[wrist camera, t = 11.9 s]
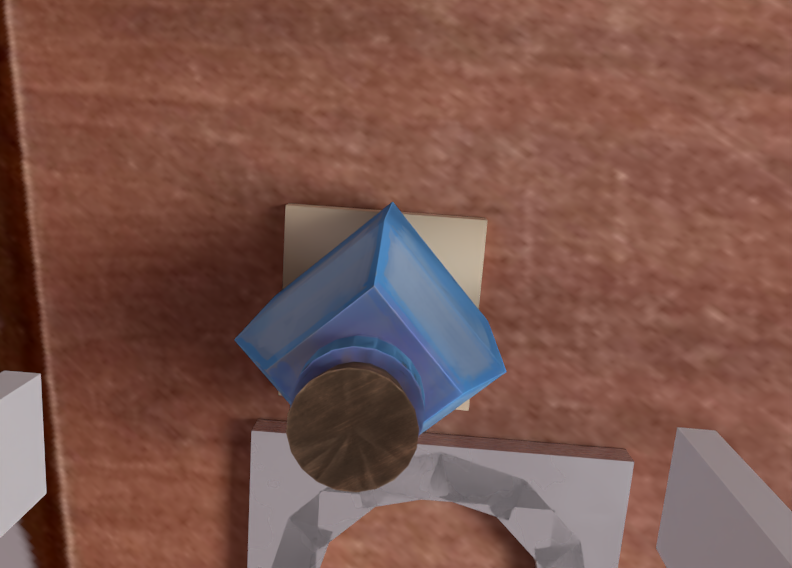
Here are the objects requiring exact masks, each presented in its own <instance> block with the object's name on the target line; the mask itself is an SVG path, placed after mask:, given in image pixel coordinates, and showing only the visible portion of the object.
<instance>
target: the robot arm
mask: <svg viewBox="0 0 792 568" xmlns="http://www.w3.org/2000/svg"><path fill="white" fill-rule="evenodd" d="M45 494H46V474H45V453H44V432H43V412H42V391H41V374H39V373H27V372H15V371H3V372H1V373H0V538H1V537H2V536H3V535H4V534H5V533H6V532H7V531H8V530H9V529H10V528H11V527H12V526H13V525H14V524H15V523H16V522H17V521H18V520H19V519H20V518H22V517H23V516H24V515H25V514H26V513H27V512H28V511H29V510H30V509H31V508H32V507H33V506H34V505H35V504H36V503H37V502H38V501H39V500H40V499H41V498H42V497H43V496H44V495H45ZM656 549H657V551H658V552H659V554H660V556H661V558H662V560H663V562H664V563H665V565H666V567H667V568H792V511H791V510H790V509H789V508H788V507H787V506H786V505H785V504H784V503H783V502H782V501H781V500H780V498H779V497H778V496H777V495H776V494H775V493H774V492H773V491H772V490H771V489H770V488H769V487H768V486H767V485H766V484H765V483H764V481H763V480H762V479H761V478H760V477H759V476H758V475H757V474H756V473H755V472H754V471H753V470H752V469H751V468H750V467H749V466H748V465H747V463H746V462H745V461H744V460H743V459H742V458H741V457H740V456H739V455H738V454H737V453H736V452H735V451H734V450H733V449H732V448H731V446H730V445H729V444H728V443H727V442H726V441H725V440H724V439H723V438H722V437H721V436H720V435H719V434H718V433H717V432H716V431H714V430H702V429H690V428H678V427H677V432H676V438H675V444H674V449H673V455H672V461H671V466H670V472H669V478H668V483H667V489H666V495H665V500H664V506H663V512H662V517H661V523H660V529H659V534H658V540H657V546H656Z"/></svg>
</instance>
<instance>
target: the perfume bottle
mask: <svg viewBox="0 0 792 568" xmlns="http://www.w3.org/2000/svg"><path fill="white" fill-rule="evenodd" d="M234 340H235V341H236V343H237V344H238V345H239V346H240V347H241V348H242V350H243V351H244V352H245V353H246V354H247V355H248V356H249V358H250V359H251V360H252V361H253V362H254V363H255V365H256V366H257V367H258V368H259V369H260V370H261V371H262V373H263V374H264V375H265V376H266V377H267V378H268V380H269V381H270V382H271V383H272V384H273V385H274V386H275V388H276V389H277V390H278V391H279V392H280V393H281V394H282V396H283V397H284V398H285V399H286V400H287V401H288V403H289V404H290V410H289V412H288V417H287V429H286V435H287V439H288V442H289V446H290V450H291V453H292V455H293V456H294V458H295V459H296V461H297V462H298V464H299V466H300V467H301V469H302V470H304V471H305V472H306V473H307V474H308V475H309V476H311V477H312V478H313V479H314V480H315V481H317V482H318V483H321V484H323V485H325V486H328V487H330V488H332V489H335V490H340V491H348V492H362V491H368V490H373V489H377V488H379V487H381V486H383V485H385V484H387V483H389V482H391V481H393V480H395V479H396V478H397V477H398V476H399V475H400V474H401V473H402V472H403V471H404V470H405V469H406V468H407V467H408V465H409V463H410V461H411V459H412V457H413V455H414V453H415V451H416V449H417V443H418V437H419V435H420V434H422V433H423V432H424V431H426V430H427V429H429V428H430V427H431V426H433V425H434V424H435V423H437V422H438V421H440V420H441V419H442V418H444V417H445V416H446V415H448V414H449V413H450V412H452V411H453V410H455V409H456V408H457V407H459V406H460V405H461V404H463V403H464V402H466V401H467V400H468V399H470V398H471V397H472V396H474V395H475V394H477V393H478V392H479V391H481V390H482V389H483V388H485V387H486V386H488V385H489V384H490V383H492V382H493V381H494V380H496V379H497V378H499V377H500V376H501V375H503V374H504V373H505V372H507V371H506V369H505V366H504V363H503V361H502V358H501V355H500V352H499V350H498V347H497V344H496V342H495V339H494V336H493V333H492V331H491V328H490V325H489V323H488V321H487V319H486V318H485V317H484V316H483V314H482V313H481V312H480V311H479V309H478V308H477V307H476V306H475V304H474V303H473V302H472V301H471V299H470V298H469V297H468V296H467V294H466V293H465V292H464V290H463V289H462V288H461V287H460V285H459V284H458V283H457V282H456V280H455V279H454V278H453V277H452V275H451V274H450V273H449V272H448V270H447V269H446V268H445V267H444V265H443V264H442V263H441V262H440V260H439V259H438V258H437V257H436V255H435V254H434V253H433V252H432V250H431V249H430V248H429V247H428V245H427V244H426V243H425V242H424V240H423V239H422V238H421V237H420V235H419V234H418V233H417V231H416V230H415V229H414V228H413V226H412V225H411V224H410V223H409V221H408V220H407V219H406V218H405V216H404V215H403V214H402V213H401V211H400V210H399V209H398V208H397V206H396V205H395V204H394V203H393V202H391V203H390V204H389V205H388V206H386V207H385V208H384V209H383V210H381V211H380V212H379V213H378V214H376V215H375V216H374V217H373V218H372V219H370V220H369V221H368V222H367V223H365V224H364V225H363V226H362V227H360V228H359V229H358V230H357V231H355V232H354V233H353V234H352V235H350V236H349V237H348V238H347V239H345V240H344V241H343V242H342V243H340V244H339V245H338V246H337V247H335V248H334V249H333V250H332V251H330V252H329V253H328V254H327V255H325V256H324V257H323V258H322V259H320V260H319V261H318V262H317V263H315V264H314V265H313V266H312V267H310V268H309V269H308V270H307V271H305V272H304V273H303V274H302V275H300V276H299V277H298V278H297V279H295V280H294V281H293V282H292V283H290V284H289V285H288V286H287V287H285V288H284V289H283V290H282V291H280V292H279V293H278V294H277V295H275V296H274V297H273V298H272V299H271V300H270V302H269V303H268V304H267V305H266V306H265V307H264V308H263V309H262V310H261V311H260V312H259V313H258V314H257V316H256V317H255V318H254V319H253V320H252V321H251V322H250V323H249V324H248V325H247V326H246V327H245V329H244V330H243V331H242V332H241V333H240V334H239V335H238V336H237V337H236V338H235V339H234Z"/></svg>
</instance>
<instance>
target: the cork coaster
mask: <svg viewBox="0 0 792 568" xmlns="http://www.w3.org/2000/svg"><path fill="white" fill-rule="evenodd" d="M380 211H381V210H372V209H358V208H345V207H332V206H319V205H305V204H292V203H289V204H287V205H286V208H285V235H284V261H283V287H282V290H283V289H284V288H285V287H287V286H288V285H289V284H290V283H292V282H293V281H294V280H295V279H297V278H298V277H299V276H300V275H302V274H303V273H304V272H305V271H307V270H308V269H309V268H310V267H312V266H313V265H314V264H315V263H317V262H318V261H319V260H320V259H322V258H323V257H324V256H325V255H327V254H328V253H329V252H330V251H332V250H333V249H334V248H335V247H337V246H338V245H339V244H340V243H342V242H343V241H344V240H345V239H347V238H348V237H349V236H350V235H352V234H353V233H354V232H355V231H357V230H358V229H359V228H360V227H362V226H363V225H364V224H365V223H367V222H368V221H369V220H370V219H372V218H373V217H374V216H375V215H376V214H378V213H379V212H380ZM401 213H402V214H403V215H404V216H405V218H406V219H407V220H408V221H409V223H410V224H411V225H412V226H413V228H414V229H415V230H416V231H417V233H418V234H419V235H420V237H421V238H422V239H423V240H424V242H425V243H426V244H427V245H428V247H429V248H430V249H431V250H432V252H433V253H434V254H435V255H436V257H437V258H438V259H439V260H440V262H441V263H442V264H443V265H444V267H445V268H446V269H447V270H448V272H449V273H450V274H451V275H452V277H453V278H454V279H455V280H456V282H457V283H458V284H459V285H460V287H461V288H462V289H463V290H464V292H465V293H466V294H467V296H468V297H469V298H470V299H471V301H472V302H473V303H474V304H475V306H476V307H477V308H478V309H479V300H480V290H481V280H482V270H483V260H484V250H485V240H486V230H487V219H486V218H478V217H464V216H451V215H438V214H425V213H411V212H401ZM278 395H280V396H282V394H281V393H280V392H278ZM469 400H470V399H468V400H467V401H466V402H464V403H463V404H461V405H460V406H459V407H457V408H456V409H455V410H466V411H468V410H469Z"/></svg>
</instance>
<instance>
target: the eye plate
mask: <svg viewBox="0 0 792 568" xmlns="http://www.w3.org/2000/svg"><path fill="white" fill-rule="evenodd" d="M286 429H287V421H274V420H262V419H258V420H257V422H256V424H255V425H254V427H253V429H252V431H251V463H250V497H249V530H248V564H247V568H320V566H321V563H322V560H323V558H324V555H325V552H326V549H327V546H328V544H329V542H330V541H332V540H333V539H334V538H336V537H337V536H338V535H339V534H341V533H342V532H343V531H345V530H346V529H347V528H348V527H350V526H351V525H352V524H354V523H355V522H356V521H357V520H359V519H360V518H361V517H363V516H364V515H365V514H366V513H368V512H369V511H370V510H372V509H373V508H374V507H376V506H382V505H389V504H395V503H401V502H408V501H414V500H420V499H423V500H435V501H447V502H454V503H457V504H460V505H463V506H466V507H469V508H472V509H475V510H478V511H481V512H484V513H487V514H490V515H493V516H496V517H497V518H498V519H499V520H500V521H501V522H502V523H503V525H504V526H505V527H506V528H507V529H508V530H509V531H510V532H511V533H512V534H513V536H514V537H515V538H516V539H517V540H518V541H519V542H520V543H521V544H522V545H523V547H524V548H525V549H526V550H527V551H528V552H529V553H530V554H531V555H532V556H533V558H534V562H535V567H536V568H618V563H619V556H620V550H621V543H622V537H623V531H624V524H625V518H626V511H627V505H628V499H629V492H630V486H631V479H632V473H633V467H634V461H633V459H632V458H631V456H630V455H629V453H628V452H627V450H626V449H618V448H605V447H593V446H581V445H569V444H556V443H544V442H532V441H520V440H507V439H495V438H483V437H471V436H458V435H446V434H434V433H422V434H420V435H419V437H418V443H417V449H416V451H415V453H414V455H413V457H412V459H411V461H410V463H409V465H408V467H407V468H406V469H405V470H404V471H403V472H402V473H401V474H400V475H399V476H398V477H397V478H396V479H395V480H393V481H391V482H389V483H387V484H385V485H383V486H381V487H379V488H377V489H373V490H368V491H362V492H348V491H340V490H335V489H332V488H330V487H328V486H325V485H323V484H321V483H318V482H317V481H315V480H314V479H313V478H312V477H311V476H309V475H308V474H307V473H306V472H305V471H304V470H302V469H301V467H300V466H299V464H298V462H297V461H296V459H295V458H294V456H293V455H292V453H291V450H290V446H289V442H288V439H287V435H286Z"/></svg>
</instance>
